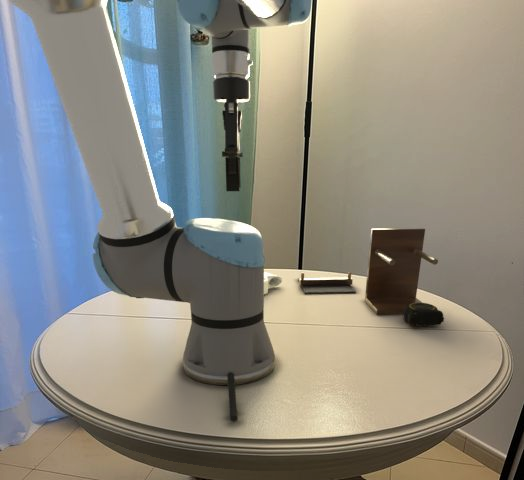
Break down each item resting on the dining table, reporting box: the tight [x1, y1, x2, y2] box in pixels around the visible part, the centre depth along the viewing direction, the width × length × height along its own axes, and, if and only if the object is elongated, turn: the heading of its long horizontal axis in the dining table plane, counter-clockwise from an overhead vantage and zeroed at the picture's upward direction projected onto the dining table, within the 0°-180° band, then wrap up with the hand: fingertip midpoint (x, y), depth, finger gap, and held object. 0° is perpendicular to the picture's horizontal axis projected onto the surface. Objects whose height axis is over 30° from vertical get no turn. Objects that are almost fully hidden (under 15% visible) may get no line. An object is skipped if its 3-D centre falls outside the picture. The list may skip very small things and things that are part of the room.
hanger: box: [298, 271, 353, 287], centre depth 121 cm, size 2×14×3 cm, turn 93°
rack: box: [364, 227, 439, 315], centre depth 100 cm, size 12×12×17 cm
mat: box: [297, 277, 357, 295], centre depth 121 cm, size 14×13×1 cm
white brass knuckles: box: [264, 271, 283, 295], centre depth 121 cm, size 3×18×15 cm
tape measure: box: [403, 302, 445, 328], centre depth 94 cm, size 7×7×4 cm
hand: (234, 189), depth 101 cm, fingers open, 13 cm apart
